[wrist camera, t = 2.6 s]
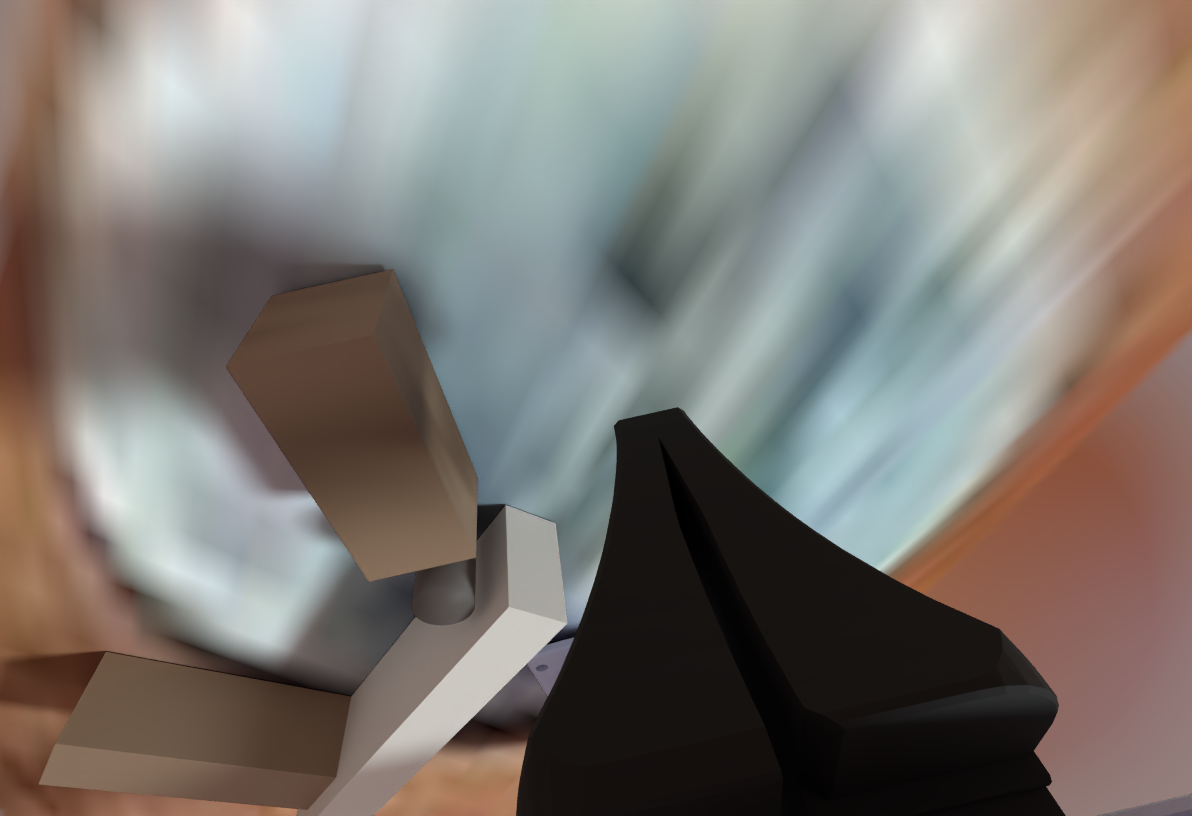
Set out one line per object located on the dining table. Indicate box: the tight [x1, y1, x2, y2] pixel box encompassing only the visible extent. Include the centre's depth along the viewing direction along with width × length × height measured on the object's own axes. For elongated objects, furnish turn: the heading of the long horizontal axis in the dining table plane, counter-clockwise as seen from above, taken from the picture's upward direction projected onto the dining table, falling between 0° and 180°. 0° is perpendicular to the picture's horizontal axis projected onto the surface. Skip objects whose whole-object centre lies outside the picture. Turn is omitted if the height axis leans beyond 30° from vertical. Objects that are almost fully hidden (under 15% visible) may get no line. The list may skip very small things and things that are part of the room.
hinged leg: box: [226, 269, 478, 625], centre depth 16 cm, size 10×3×3 cm, turn 10°
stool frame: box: [39, 505, 567, 816], centre depth 21 cm, size 18×11×4 cm, turn 145°
